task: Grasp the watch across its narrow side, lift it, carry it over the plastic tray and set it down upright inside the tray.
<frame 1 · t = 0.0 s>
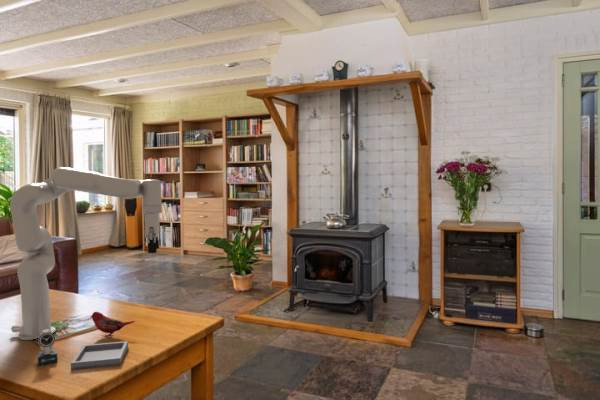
hand: (153, 250, 180), 31 cm above the table, tool pointing down, fingers open, 9 cm apart
decorative bird figurine: (113, 337, 169), on the table
watch: (47, 362, 146), on the table
tray: (101, 358, 149), on the table
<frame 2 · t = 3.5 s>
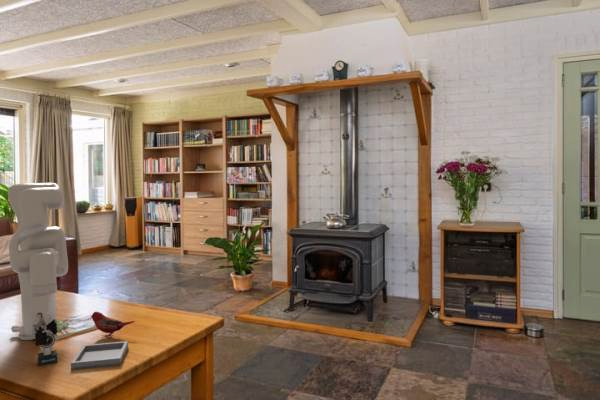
hand: (46, 339, 145), 8 cm above the table, tool pointing down, fingers open, 9 cm apart
watch: (48, 363, 147), on the table, touching gripper
everything else where it was.
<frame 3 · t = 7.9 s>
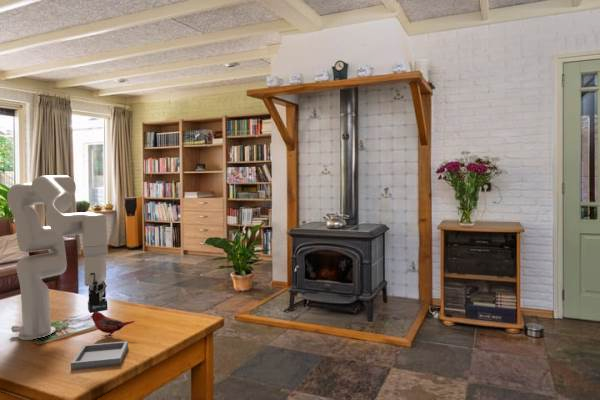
hand: (97, 300, 148), 20 cm above the table, tool pointing down, fingers closed on watch, 8 cm apart
watch: (98, 310, 148), point 17 cm above the table, touching gripper
everything else where it was.
when the fingers open (5 cm above the table, at t = 11.8 s): watch stays where it is, resting on tray.
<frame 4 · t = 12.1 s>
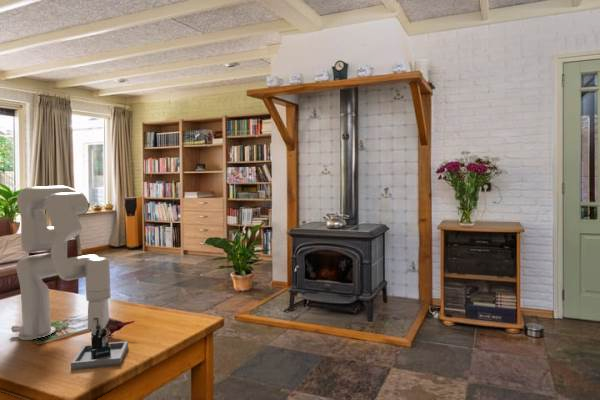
hand: (100, 343, 149), 5 cm above the table, tool pointing down, fingers open, 9 cm apart
watch: (101, 355, 150), point 1 cm above the table, touching gripper, tray
everything else where it was.
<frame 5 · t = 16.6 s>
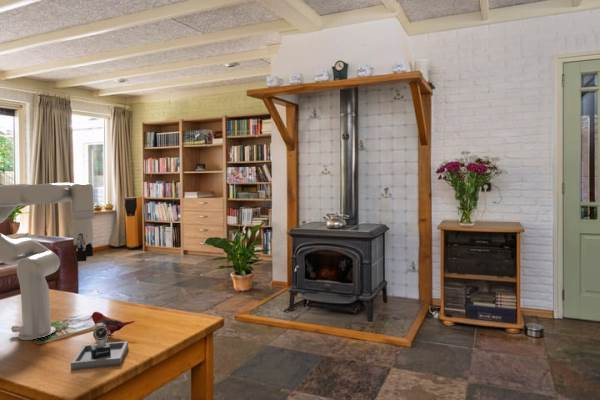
hand: (85, 258, 169), 30 cm above the table, tool pointing down, fingers open, 9 cm apart
watch: (101, 355, 150), point 1 cm above the table, touching tray
everything else where it was.
at the end: watch inside the target area on the tray (0.7 cm from its centre), point 0.6 cm above the tray's base; watch tilted 0°; the gripper is holding nothing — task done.
